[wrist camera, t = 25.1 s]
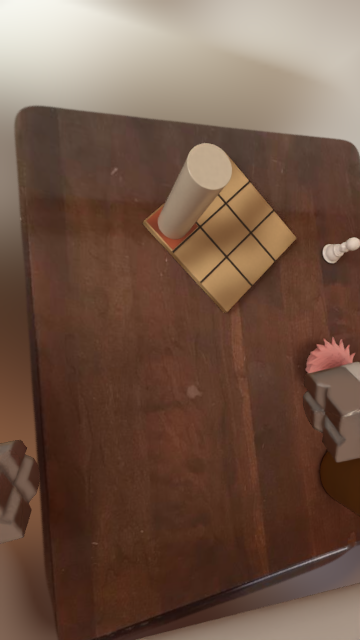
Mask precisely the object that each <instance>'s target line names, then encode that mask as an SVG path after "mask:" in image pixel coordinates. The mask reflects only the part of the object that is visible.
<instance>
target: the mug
mask: <svg viewBox="0 0 360 640" xmlns="http://www.w3.org/2000/svg"><path fill="white" fill-rule="evenodd" d="M320 477H321V482H322V485H323V487H324V489H325V491H326V492H327V493H328V494H329V495H330V496H331V497H332V498H333V499H335V500H336V501H337V502H339V503H340V504H342V505H343V506H345V507H347V508H348V509H350V510H351V511H352V512H354V513H356V514H357V515H359V516H360V458H356V459H352V460H347V461H342V462H337V463H336V461H335V460H334V458H333V457H332V455H331V454H330V452H329V451H327V453H326V454H325V456H324V458H323V460H322V463H321V467H320Z"/></svg>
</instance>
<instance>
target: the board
mask: <svg viewBox="0 0 360 640" xmlns="http://www.w3.org/2000/svg"><path fill="white" fill-rule="evenodd" d="M226 155H227V154H226ZM227 156H228V155H227ZM228 158H229V156H228ZM229 160H230V162H231V166H232V175H231V179H230V181H229V182H228V184H227V185H226V186H225V188H224V189H223V190H222V191H221V192H220V194H219V195H218V196H217V197H216V199H215V200H214V201H213V202H212V203H211V205H210V206H209V207H208V208H207V210H206V211H205V212H204V213H203V214H202V216H201V217H200V218H199V219H198V221H197V222H196V223H195V224H194V226H193V227H192V228H191V229H190V230H189V232H188V233H187V234H186V235H185V236H184V237H182V238H180V239H171V238H168V237H166V236H165V235H164V234H163V233H162V232H161V231H160V229H159V226H158V217H159V214H160V212H161V210H162V208H163V206H164V204H165V203H164V204H163V205H162V206H161V207H160V208H158V209H157V210H156V211H155V212H154V213H152V214H151V215H150V216H149V217H148V218H147V219H145V220H144V222H143V225H144V226H145V227H146V228H147V229H148V230H149V231H150V232H151V233H152V235H153V236H154V237H155V238H156V239H157V240H158V241H159V242H160V243H161V244H162V246H163V247H164V248H165V249H166V250H167V251H168V252H169V253H170V254H171V255H172V256H173V258H174V259H175V260H176V261H177V262H178V263H179V264H180V265H181V266H182V267H183V269H184V270H185V271H186V272H187V273H188V274H189V275H190V276H191V277H192V278H193V279H194V281H195V282H196V283H197V284H198V285H199V286H200V287H201V288H202V289H203V290H204V292H205V293H206V294H207V295H208V296H209V297H210V298H211V299H212V300H213V301H214V302H215V304H216V305H217V306H218V307H219V308H220V309H221V310H222V311H223V312H224V313H225V312H228V311H229V310H230V309H231V308H232V306H233V305H234V304H235V303H236V302H237V301H238V300H239V299H240V298H241V297H242V296H243V295H244V294H245V293H246V292H247V290H248V289H249V288H250V287H251V286H253V284H254V283H255V282H256V281H257V280H258V279H259V278H260V277H261V276H262V275H263V273H264V272H265V271H266V270H267V269H268V268H269V267H270V266H271V265H272V264H273V263H274V262H275V261H276V260H277V259H278V257H279V256H280V255H281V254H282V253H283V252H284V251H285V250H286V249H287V248H288V247H289V246H290V245H291V244H292V243H293V242H294V240H295V239H296V237H295V236H294V235H293V233H292V232H291V231H290V230H289V229H288V227H287V226H286V225H285V224H284V223H283V221H282V220H281V219H280V218H279V216H278V215H277V214H276V213H275V212H274V209H272V208H271V207H270V206H269V204H268V203H267V202H266V201H265V200H264V198H263V197H262V196H261V195H260V194H259V192H258V191H257V190H256V189H255V188H254V186H253V185H252V184H251V183H250V180H248V179H247V178H246V177H245V176H244V174H243V173H242V172H241V171H240V170H239V168H238V167H237V166H236V165H235V164H234V162H233V161H232V160H231V159H230V158H229Z"/></svg>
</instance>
